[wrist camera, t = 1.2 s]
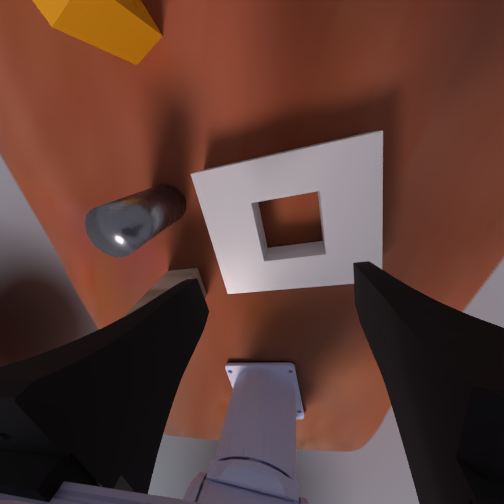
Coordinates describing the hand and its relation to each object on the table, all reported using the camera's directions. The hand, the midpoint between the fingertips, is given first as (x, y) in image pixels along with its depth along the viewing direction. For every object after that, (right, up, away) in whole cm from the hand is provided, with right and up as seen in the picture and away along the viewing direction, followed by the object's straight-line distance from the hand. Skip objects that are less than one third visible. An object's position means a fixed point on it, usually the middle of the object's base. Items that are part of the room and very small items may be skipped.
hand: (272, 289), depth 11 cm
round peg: (-8, +6, +9) cm, 14 cm away
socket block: (+2, +4, +8) cm, 9 cm away
